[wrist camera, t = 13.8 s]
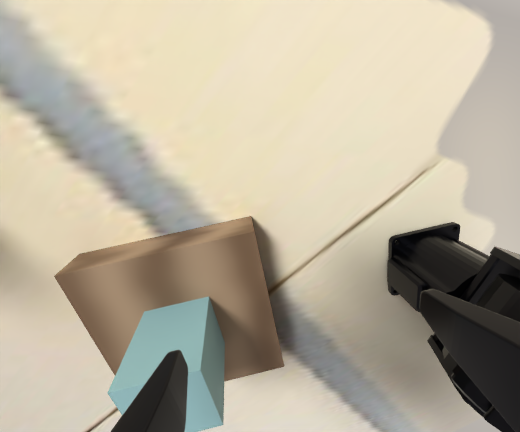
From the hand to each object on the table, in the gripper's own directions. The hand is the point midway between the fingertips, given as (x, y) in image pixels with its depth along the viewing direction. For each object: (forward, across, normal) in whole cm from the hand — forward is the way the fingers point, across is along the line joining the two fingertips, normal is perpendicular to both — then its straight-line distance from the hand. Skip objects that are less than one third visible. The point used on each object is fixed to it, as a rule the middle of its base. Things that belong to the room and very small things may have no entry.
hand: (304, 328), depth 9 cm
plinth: (+12, +8, +7) cm, 16 cm away
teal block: (+9, +8, +7) cm, 14 cm away
